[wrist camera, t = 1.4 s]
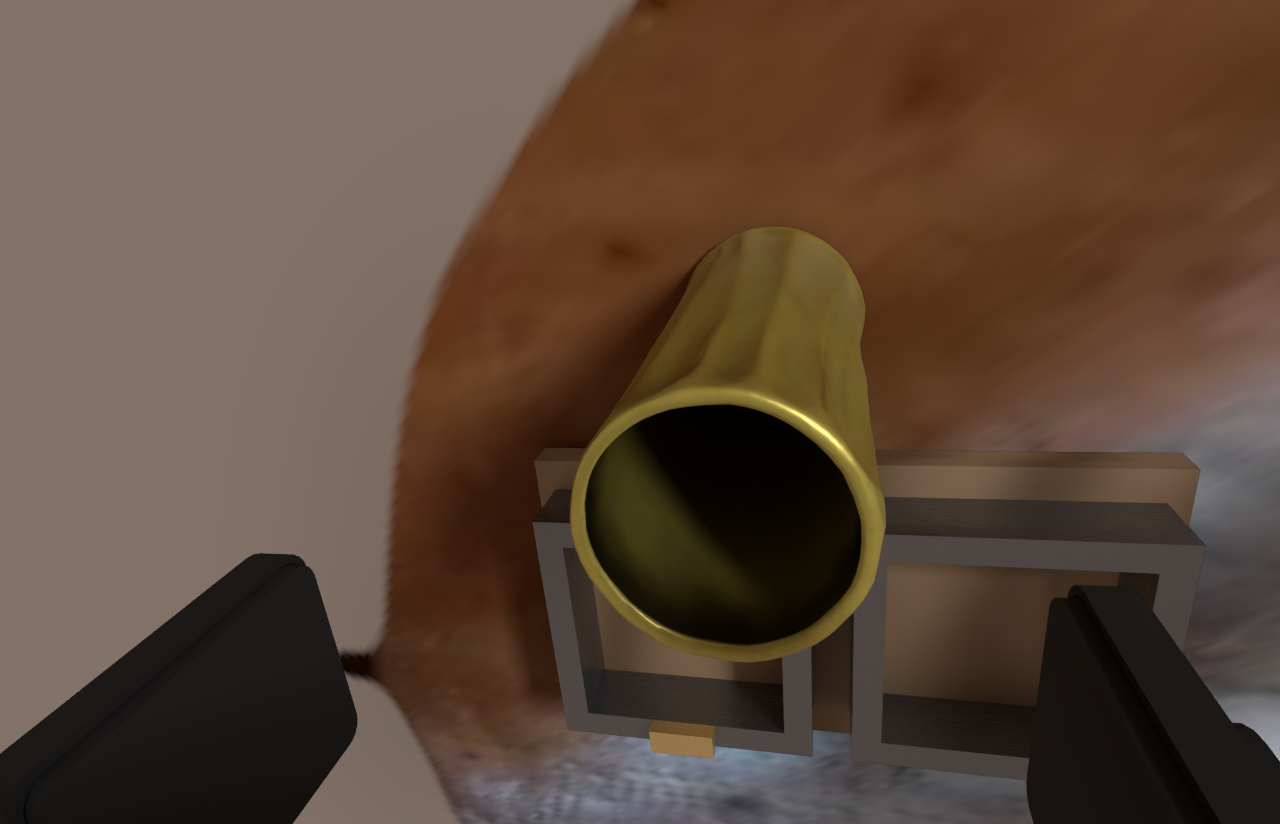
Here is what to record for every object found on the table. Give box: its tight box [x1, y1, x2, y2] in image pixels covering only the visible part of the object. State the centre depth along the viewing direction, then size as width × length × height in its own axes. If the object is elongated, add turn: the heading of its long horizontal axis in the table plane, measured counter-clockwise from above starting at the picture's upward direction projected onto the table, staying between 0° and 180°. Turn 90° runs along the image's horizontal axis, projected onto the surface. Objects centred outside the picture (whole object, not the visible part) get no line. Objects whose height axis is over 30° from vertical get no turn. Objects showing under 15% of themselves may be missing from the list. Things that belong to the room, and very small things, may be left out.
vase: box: [570, 227, 886, 662], centre depth 18 cm, size 6×6×14 cm
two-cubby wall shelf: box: [532, 489, 1206, 780], centre depth 26 cm, size 21×10×3 cm, turn 94°
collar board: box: [534, 448, 1200, 733], centre depth 28 cm, size 22×12×1 cm, turn 94°
